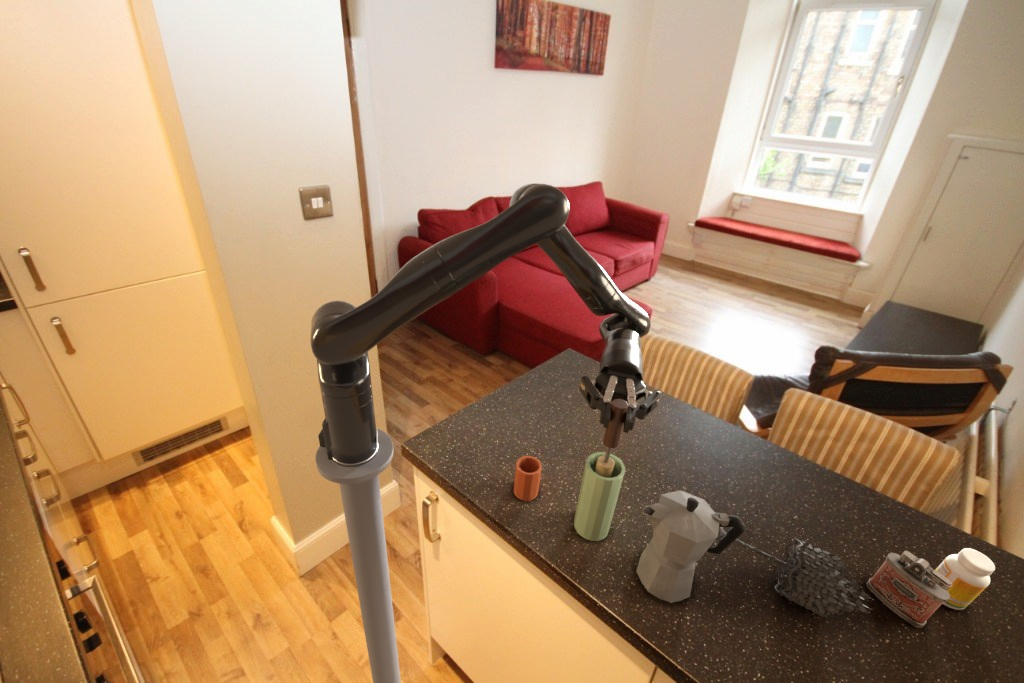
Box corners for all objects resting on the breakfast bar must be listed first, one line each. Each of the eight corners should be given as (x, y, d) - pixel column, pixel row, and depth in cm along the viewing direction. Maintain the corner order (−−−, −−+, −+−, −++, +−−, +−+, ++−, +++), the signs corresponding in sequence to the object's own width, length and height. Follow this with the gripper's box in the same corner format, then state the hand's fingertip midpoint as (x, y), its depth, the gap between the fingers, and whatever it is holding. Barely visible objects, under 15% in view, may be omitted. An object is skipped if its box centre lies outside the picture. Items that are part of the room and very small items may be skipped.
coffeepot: (627, 599, 70) (653, 522, 61) (620, 545, 78) (642, 471, 69) (727, 611, 69) (768, 536, 60) (709, 556, 77) (743, 483, 68)
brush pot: (513, 500, 85) (515, 473, 82) (513, 480, 89) (516, 455, 86) (538, 501, 85) (542, 475, 82) (537, 482, 89) (541, 456, 86)
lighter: (862, 585, 75) (891, 547, 70) (873, 577, 76) (902, 539, 71) (917, 631, 69) (953, 593, 64) (927, 621, 70) (964, 583, 65)
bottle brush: (592, 493, 75) (612, 408, 66) (590, 480, 78) (609, 397, 69) (609, 494, 75) (631, 409, 66) (606, 481, 78) (627, 398, 69)
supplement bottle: (916, 582, 76) (947, 546, 71) (939, 576, 77) (971, 540, 72) (950, 614, 71) (985, 578, 67) (973, 607, 73) (1010, 571, 68)
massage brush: (714, 530, 82) (730, 495, 78) (855, 598, 73) (882, 562, 68) (704, 569, 75) (720, 533, 71) (858, 650, 65) (889, 614, 61)
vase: (575, 539, 78) (588, 478, 71) (572, 510, 84) (584, 450, 77) (611, 542, 79) (628, 481, 71) (605, 512, 84) (621, 453, 77)
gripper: (586, 341, 80) (573, 395, 65) (665, 356, 78) (671, 416, 63) (580, 376, 84) (567, 434, 69) (655, 391, 81) (658, 455, 67)
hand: (616, 425), depth 66 cm, fingers closed on bottle brush, 2 cm apart
